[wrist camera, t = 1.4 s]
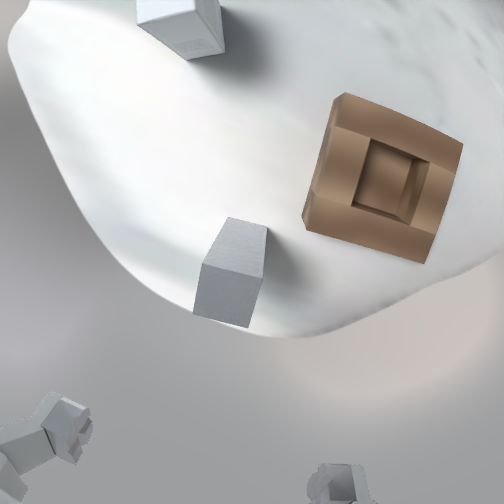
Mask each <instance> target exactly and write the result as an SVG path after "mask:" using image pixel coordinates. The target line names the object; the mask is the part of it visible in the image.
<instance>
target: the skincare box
mask: <svg viewBox="0 0 504 504" xmlns="http://www.w3.org/2000/svg"><path fill="white" fill-rule="evenodd" d="M136 15H137V26H139V27H141V28H142V29H143V30H145V31H146V32H148V33H149V34H151V35H152V36H153V37H155V38H156V39H157V40H159V41H160V42H162V43H163V44H164V45H166V46H167V47H168V48H170V49H171V50H172V51H174V52H175V53H176V54H178V55H179V56H180V57H182V58H183V59H184V60H189V59H194V58H199V57H204V56H210V55H217V54H223V53H225V44H224V35H223V26H222V18H221V9H220V4H219V2H218V0H136Z"/></svg>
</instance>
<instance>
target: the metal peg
mask: <svg viewBox="0 0 504 504" xmlns="http://www.w3.org/2000/svg"><path fill="white" fill-rule="evenodd" d="M266 234H267V227H266V226H262V225H258V224H254V223H250V222H246V221H242V220H238V219H234V218H230V217H228V218H227V220H226V222H225V223H224V225H223V227H222V229H221V230H220V232H219V234H218V236H217V237H216V239H215V241H214V243H213V245H212V246H211V248H210V250H209V252H208V254H207V255H206V257H205V259H204V261H203V263H202V266H201V272H200V277H199V282H198V287H197V293H196V298H195V304H194V309H193V314H195V315H198V316H202V317H206V318H209V319H213V320H217V321H221V322H225V323H229V324H233V325H237V326H241V327H245V328H248V327H249V324H250V320H251V317H252V313H253V310H254V307H255V303H256V300H257V296H258V293H259V290H260V286H261V283H262V279H263V269H264V257H265V246H266Z"/></svg>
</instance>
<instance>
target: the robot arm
mask: <svg viewBox="0 0 504 504" xmlns="http://www.w3.org/2000/svg"><path fill="white" fill-rule="evenodd" d="M89 416H90V410H89V408H87V407H85V406H83V405H80V404H78V403H76V402H74V401H72V400H70V399H67V398H65V397H64V396H62V395H60V394H57V393H55V392H53V391H51V392H50V393H48V395H47V396H46V397H45V398H44V400H43V401H42V402H41V404H40V405H39V406H38V408H37V409H36V410H35V412H34V413H33V414H32V416H31V417H30V418H29V420H28V419H27V418H24V419H21V420H18V421H15V422H12V423H9V424H6V425H3V426H1V427H0V504H23V503H22V502H21V501H22V499H23V497H24V495H25V494H26V492H27V490H28V488H27V485H26V484H25V483H24V482H23V480H22V479H21V478H20V475H22V474H24V473H25V472H28V471H30V470H32V469H33V468H35V467H37V466H39V465H41V464H43V463H45V462H47V461H49V460H51V459H52V458H54V457H55V456H58V457H60V458H62V459H64V460H66V461H68V462H70V463H72V464H75V465H76V463H77V462H78V460H79V458H80V456H81V454H82V448H81V446H82V445H84V444H87V442H88V441H89V439H90V436H91V433H92V421H91V420H90V419H89V418H88V417H89ZM307 496H308V497H309V498H310V499H311V502H310V503H309V504H377V503H376V502H375V501H374V500H370V495H369V490H368V486H367V481H366V476H365V472H364V467H363V466H362V465H352V464H349V465H348V464H321V465H320V466H319V467H318V472H316V473H314V474H313V475H312V476H311V478H309V482H308V485H307Z"/></svg>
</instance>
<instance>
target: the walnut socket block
mask: <svg viewBox="0 0 504 504" xmlns="http://www.w3.org/2000/svg"><path fill="white" fill-rule="evenodd" d="M462 148H463V143H461V142H459V141H457V140H455V139H453V138H451V137H449V136H447V135H445V134H443V133H441V132H439V131H437V130H435V129H433V128H431V127H429V126H427V125H425V124H423V123H421V122H419V121H416V120H414V119H412V118H410V117H407V116H405V115H403V114H400V113H398V112H396V111H393V110H391V109H388V108H386V107H383V106H381V105H378V104H376V103H373V102H371V101H368V100H365V99H362V98H360V97H357V96H354V95H351V94H348V93H344V94H342V95H340V96H339V97H337V98H336V99H334V101H333V105H332V108H331V112H330V116H329V120H328V124H327V127H326V131H325V135H324V139H323V142H322V146H321V150H320V153H319V157H318V160H317V164H316V168H315V171H314V175H313V178H312V182H311V185H310V189H309V192H308V196H307V199H306V202H305V206H304V209H303V213H302V218H303V221H304V224H305V227H306V230H308V231H311V232H315V233H319V234H322V235H326V236H330V237H333V238H337V239H340V240H344V241H348V242H351V243H355V244H358V245H362V246H365V247H369V248H372V249H375V250H379V251H382V252H386V253H389V254H392V255H396V256H399V257H403V258H406V259H409V260H412V261H416V262H419V263H422V264H424V263H425V261H426V258H427V256H428V253H429V251H430V248H431V246H432V243H433V240H434V238H435V235H436V232H437V230H438V227H439V224H440V221H441V219H442V216H443V213H444V210H445V207H446V204H447V201H448V198H449V194H450V191H451V188H452V185H453V181H454V178H455V174H456V171H457V167H458V164H459V160H460V156H461V152H462Z"/></svg>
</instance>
